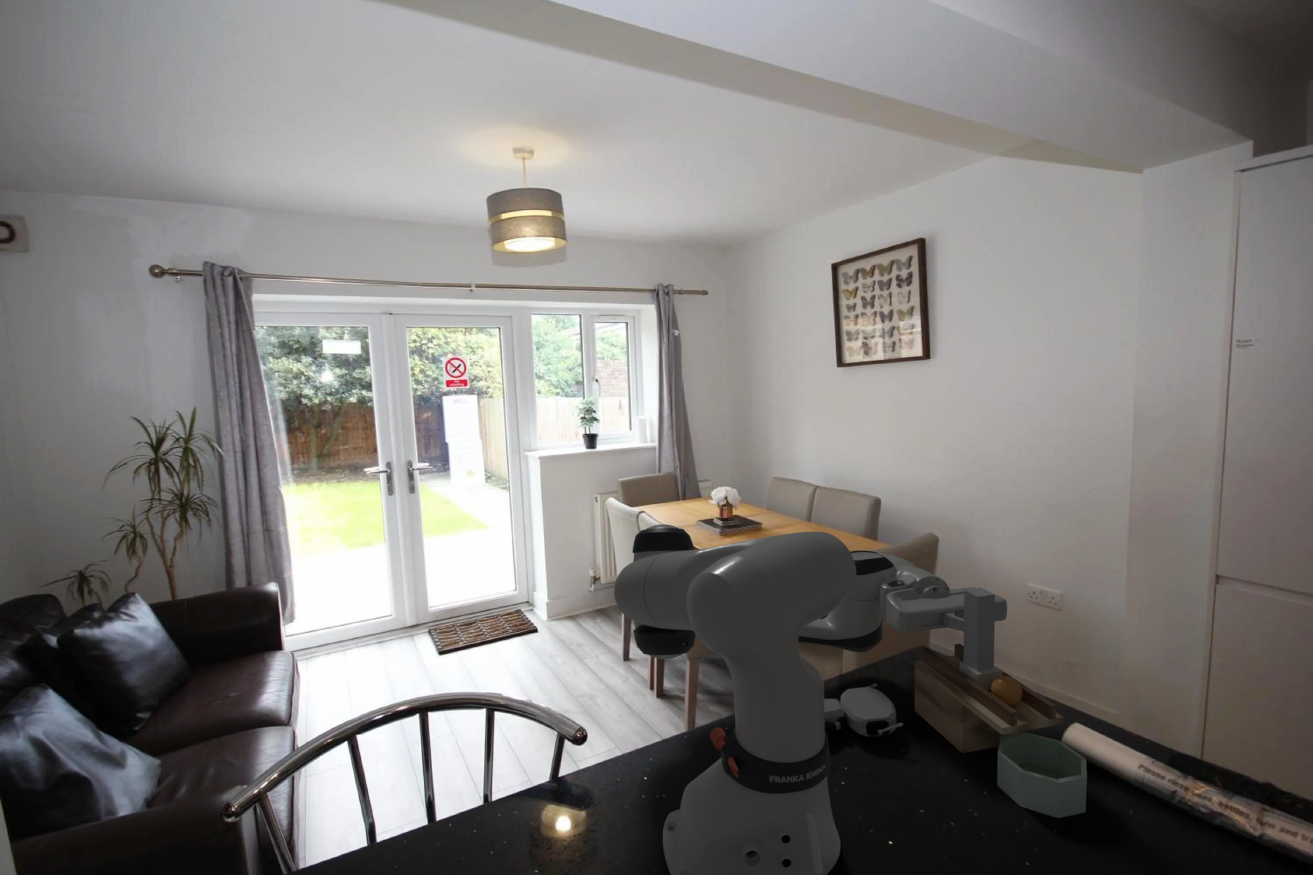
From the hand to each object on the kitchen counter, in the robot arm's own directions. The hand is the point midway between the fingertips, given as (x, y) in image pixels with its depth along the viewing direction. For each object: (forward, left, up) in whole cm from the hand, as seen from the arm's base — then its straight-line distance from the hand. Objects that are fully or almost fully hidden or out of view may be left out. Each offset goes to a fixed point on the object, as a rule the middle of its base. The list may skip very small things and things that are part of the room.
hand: (977, 628), depth 96 cm
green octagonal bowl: (-1, -14, -17) cm, 22 cm away
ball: (-1, -8, -6) cm, 10 cm away
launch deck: (-1, -3, -17) cm, 17 cm away
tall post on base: (-1, -2, -8) cm, 8 cm away
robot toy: (-19, +7, -18) cm, 27 cm away
